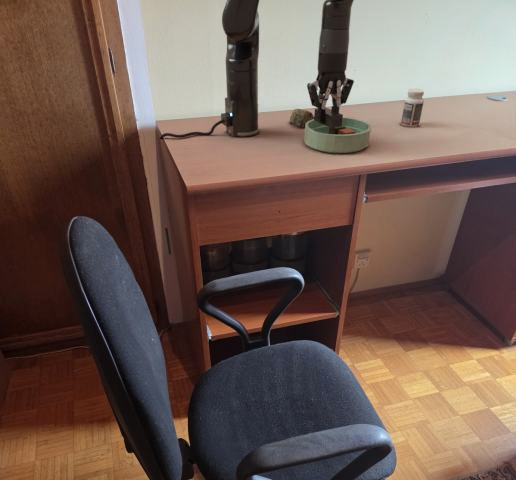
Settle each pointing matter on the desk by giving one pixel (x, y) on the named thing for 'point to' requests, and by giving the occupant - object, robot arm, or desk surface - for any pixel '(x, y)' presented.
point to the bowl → (338, 136)
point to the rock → (300, 117)
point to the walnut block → (335, 130)
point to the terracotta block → (346, 131)
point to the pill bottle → (413, 108)
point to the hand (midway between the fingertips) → (327, 121)
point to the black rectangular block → (330, 118)
